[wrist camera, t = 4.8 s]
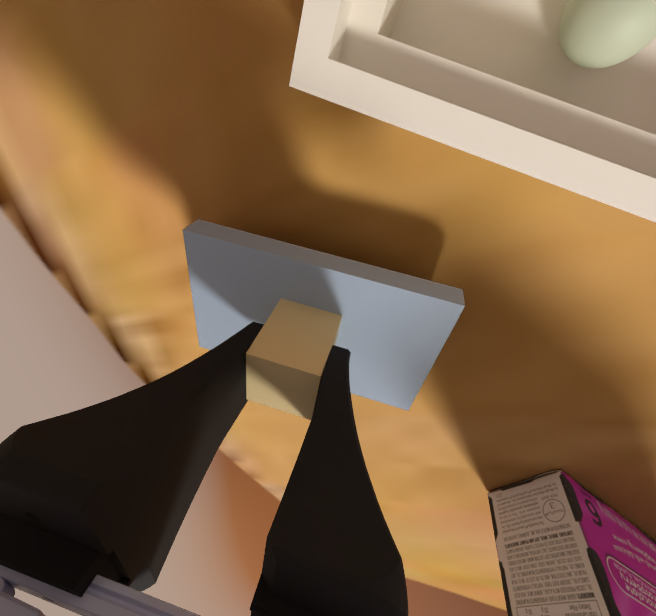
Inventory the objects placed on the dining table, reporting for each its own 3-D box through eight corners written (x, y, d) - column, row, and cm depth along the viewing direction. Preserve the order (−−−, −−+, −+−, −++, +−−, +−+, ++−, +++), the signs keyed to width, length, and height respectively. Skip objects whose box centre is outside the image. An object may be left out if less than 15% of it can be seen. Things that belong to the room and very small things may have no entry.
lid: (462, 289, 11) (474, 375, 8) (409, 392, 15) (403, 478, 12) (198, 219, 12) (119, 272, 9) (210, 332, 16) (157, 397, 13)
